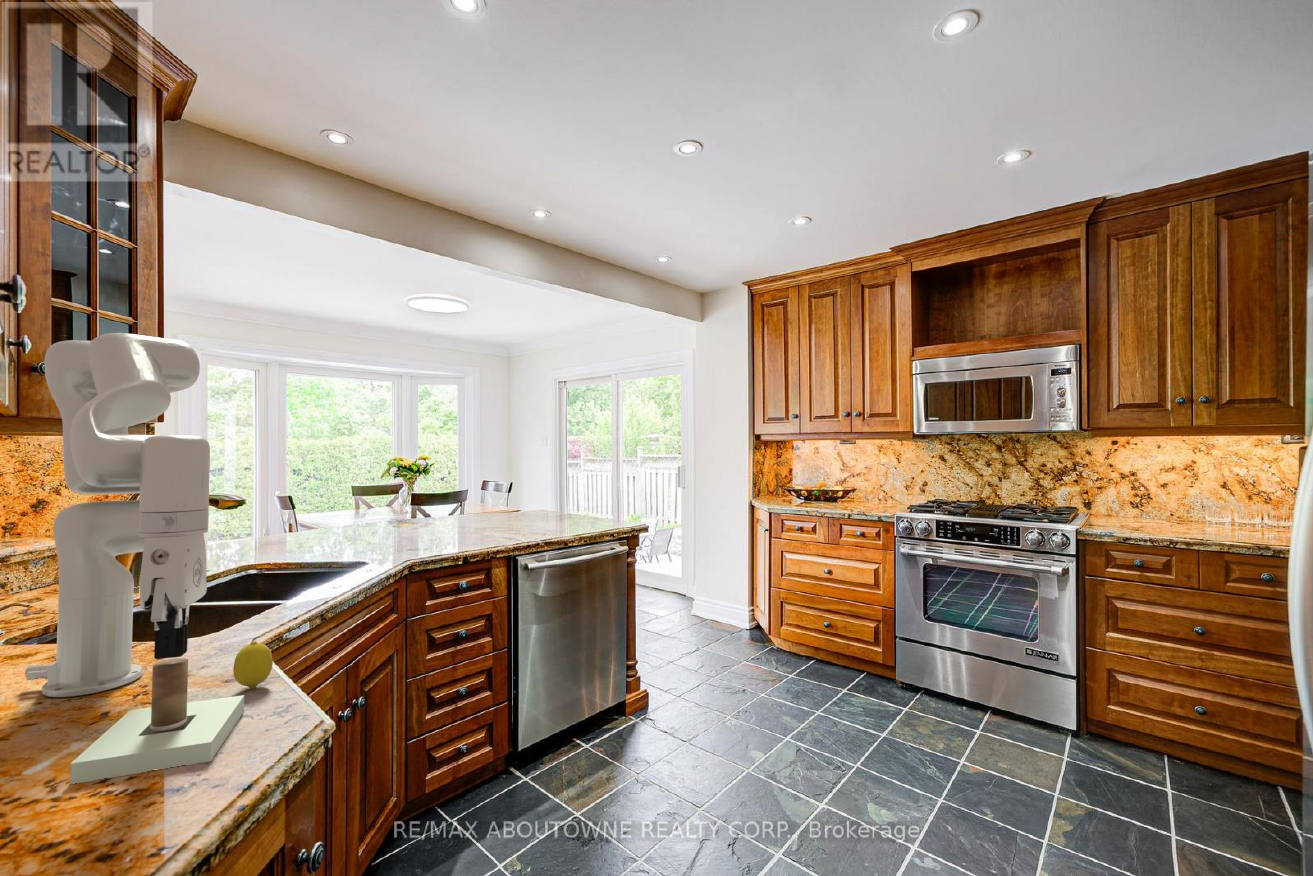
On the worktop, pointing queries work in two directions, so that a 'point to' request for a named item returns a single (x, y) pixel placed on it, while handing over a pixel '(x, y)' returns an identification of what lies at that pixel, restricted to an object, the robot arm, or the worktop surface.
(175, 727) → the peg
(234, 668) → the lemon
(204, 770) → the worktop surface
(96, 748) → the board
